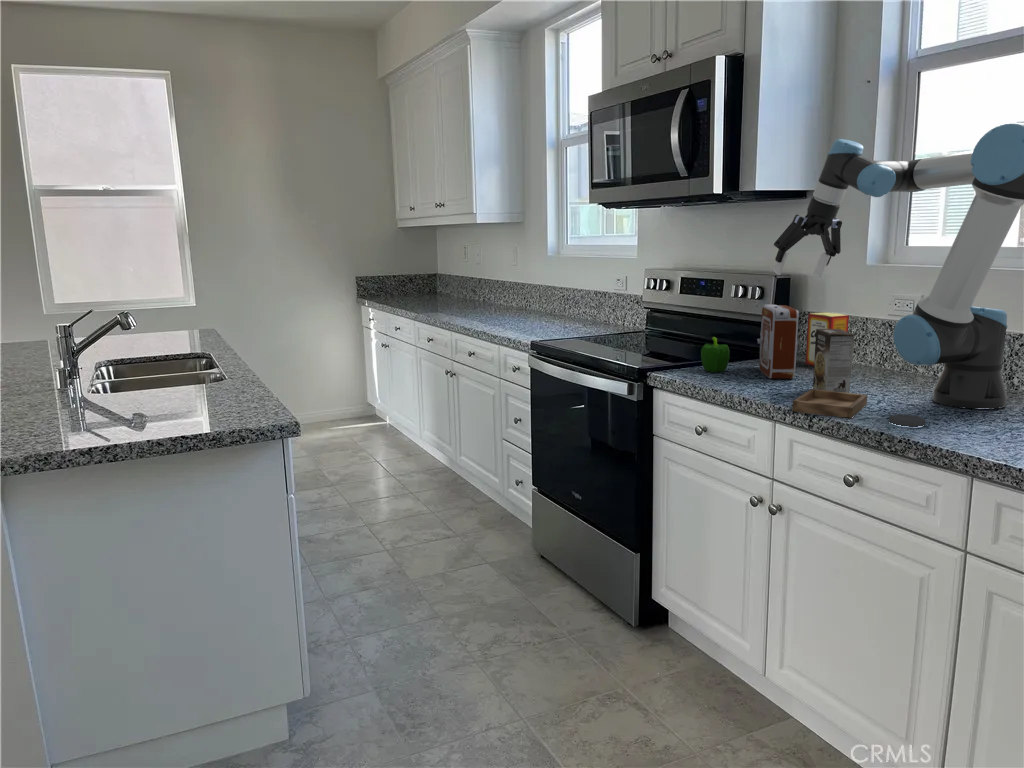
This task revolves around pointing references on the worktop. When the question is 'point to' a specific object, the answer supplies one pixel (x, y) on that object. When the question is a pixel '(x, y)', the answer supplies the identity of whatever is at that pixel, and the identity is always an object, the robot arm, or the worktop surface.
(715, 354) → the bell pepper
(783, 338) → the vintage travel case
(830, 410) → the tray
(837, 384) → the coffee box
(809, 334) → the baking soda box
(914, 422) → the lens cap
